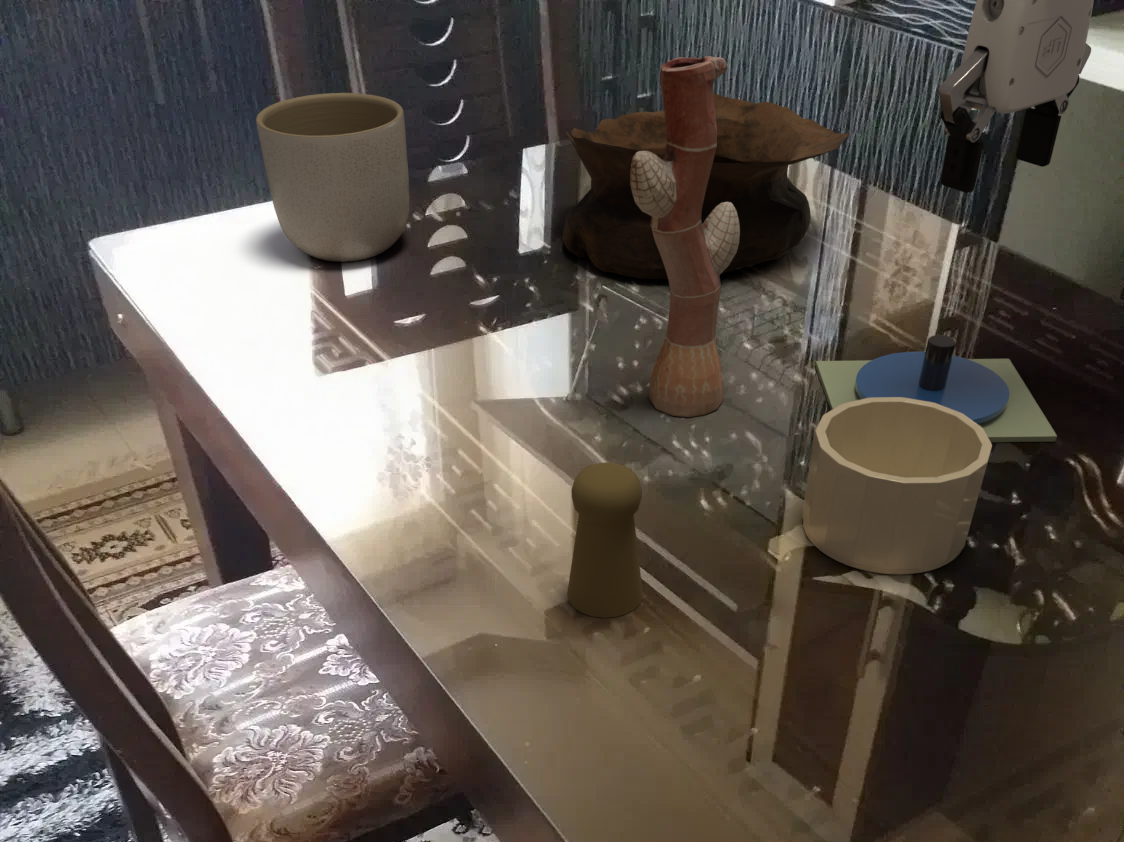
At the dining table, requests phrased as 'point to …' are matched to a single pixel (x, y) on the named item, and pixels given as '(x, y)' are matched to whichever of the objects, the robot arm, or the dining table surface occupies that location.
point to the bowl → (736, 176)
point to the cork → (605, 542)
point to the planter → (337, 172)
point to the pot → (894, 484)
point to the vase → (687, 237)
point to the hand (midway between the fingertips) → (995, 175)
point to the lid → (936, 380)
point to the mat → (1010, 425)
